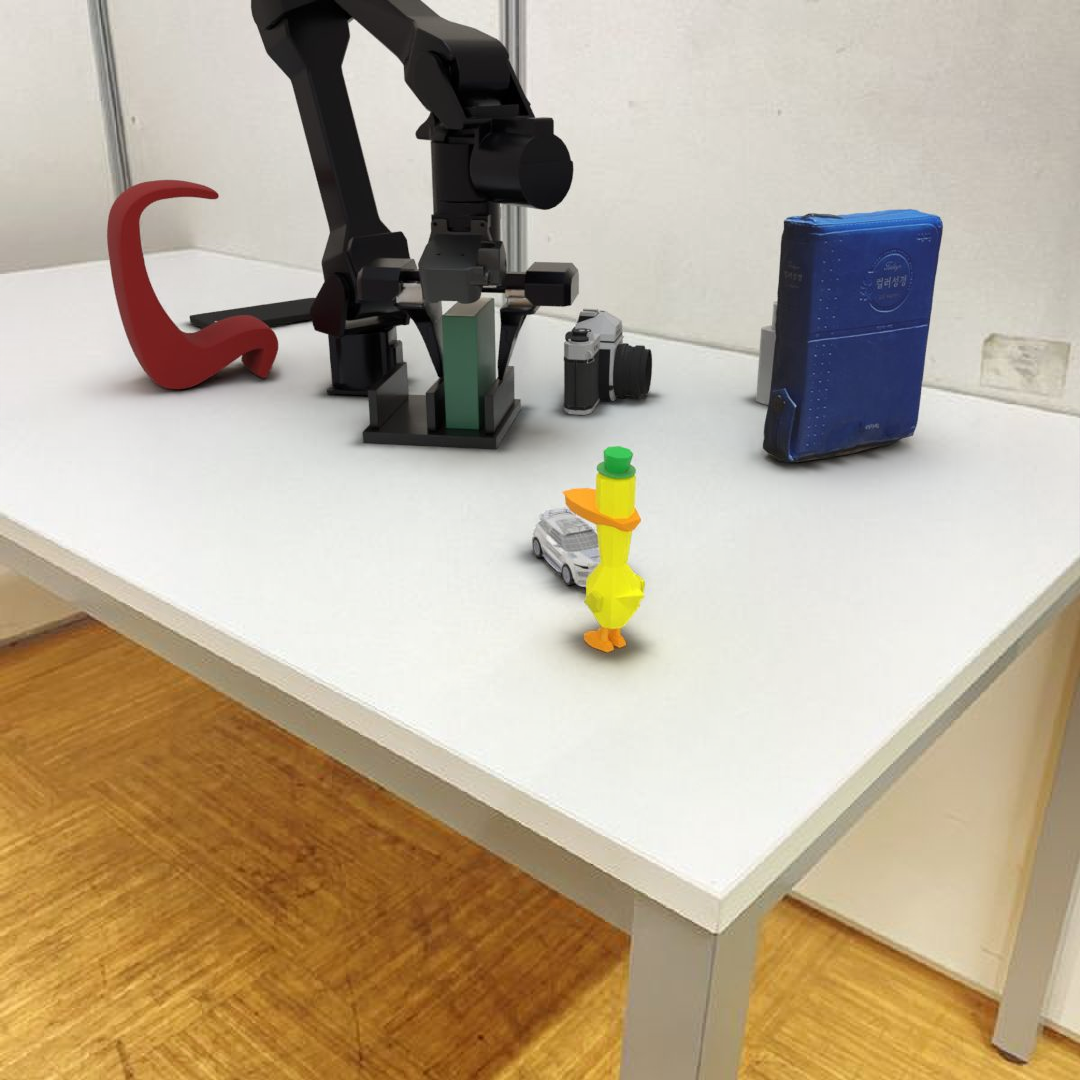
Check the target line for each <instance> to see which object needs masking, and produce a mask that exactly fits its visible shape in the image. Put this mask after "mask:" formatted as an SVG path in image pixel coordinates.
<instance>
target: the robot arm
mask: <svg viewBox="0 0 1080 1080" xmlns="http://www.w3.org/2000/svg"><path fill="white" fill-rule="evenodd" d="M250 11H251V16H252V19H253V22H254V24H255V25H256V27H257V31H258V33H259V36H260V39H261V41H262V44H263V47H264V49H265V53H266V54H267V56H268V57H269V58H270V59H271V60H272V61H273V63H275V64H276V66H277V67H278V68H279V69H280V70H281V71H282V72H283V73H284V75H285V76H286V77H287V78H288V79H289V81H290V83H291V86H292V89H293V94H294V97H295V102H296V105H297V109H298V113H299V116H300V121H301V124H302V129H303V132H304V137H305V140H306V144H307V148H308V152H309V155H310V159H311V163H312V168H313V171H314V174H315V178H316V182H317V186H318V191H319V193H320V198H321V202H322V206H323V209H324V213H325V217H326V222H327V225H328V230H329V235H328V238H327V241H326V244H325V248H324V251H323V253H322V254H323V255H322V257H321V269H322V276H323V280H324V281H323V284H322V285H321V287H320V289H319V290H318V293H317V294H316V296H315V297H314V298H315V300H314V302H313V304H312V306H311V307H310V315H311V319H310V320H311V322H312V326H313V329H314V331H316V332H318V333H322V334H325V335H327V338H328V353H329V362H330V375H331V384H329V386H328V387H326V390H325V391H326V394H329V395H352V396H368V390H369V389H370V388H371V387H372V386H373V385H374V384H375V383H376V382H377V381H379V380H380V379H381V378H382V377H383V376H384V375H385V374H386V373H387V372H388V371H389V370H391V369H392V368H393V367H394V366H395V365H396V364H397V363H398V362H404V347H403V341H402V340H401V339H398V333H397V332H398V331H397V327H400V326H409V325H410V324H411V320H412V321H413V323H414V324H415V327H416V328H417V330H418V332H419V334H420V335H421V337H422V340H423V343H424V344H425V348H426V350H427V352H428V355H429V358H430V360H431V362H432V365H433V367H434V370H435V372H436V375H437V377H438V379H439V378H443V377H444V363H443V338H442V315H443V314H444V313H443V302H460V303H461V304H470V303H474V302H476V301H478V300H479V299H480V297H482V293H484V294H485V293H486V294H505V295H504V297H505V298H506V299H507V301H506V302H505V303H504V304H503V305H502V306H501V307H500V308H499V318H500V330H499V331H500V332H499V343H498V352H497V353H498V355H497V378H498V379H499V380H503V379H504V377H505V375H506V372H507V368H508V366H510V362H511V359H512V356H513V354H514V353H513V352H514V349H515V346H516V345H517V341H518V337H519V335H520V332H521V329H522V327H523V325H524V323H525V321H526V318H527V316H531V315H535V314H536V313H537V312H538V311H539V309H540V308H541V307H556V308H557V307H559V308H564V307H565V308H566V307H570V306H572V305H573V304H574V302H575V301H576V299H577V297H578V296H579V294H580V274H579V269H578V268H577V266H575V264H574V263H573V262H559V261H557V262H555V261H554V262H552V261H534V262H533V263H532V264H531V265H529V267H528V268H527V269H526V271H508V262H507V253H506V249H505V245H504V241H503V240H502V232H501V231H502V228H501V227H502V223H501V222H502V221H501V220H502V207H501V205H506V206H514V207H520V208H528V209H536V210H541V211H547V210H551V209H554V208H555V207H557V206H558V205H560V204H561V203H562V202H563V201H564V199H565V198H566V197H567V195H568V193H569V191H570V189H571V187H572V182H573V179H574V178H573V177H574V170H575V169H574V162H573V160H572V159H571V158H572V157H571V155H570V151H569V149H568V147H567V145H566V143H565V142H564V141H563V139H562V138H560V137H559V136H558V135H556V134H555V120H554V118H553V117H549V116H547V117H546V116H542V117H541V116H540V117H539V116H538V117H536V116H535V114H534V111H533V109H532V107H531V105H532V104H531V102H530V101H529V99H528V97H527V96H526V94H525V91H524V89H523V88H522V85H521V83H520V81H519V78H518V77H517V74H516V72H515V70H514V67H513V66H512V63H511V61H510V54H509V52H508V50H507V47H506V46H505V45H504V43H502V41H501V40H499V39H498V38H496V37H494V36H492V35H489V34H488V33H485V32H483V31H481V30H479V29H478V28H475V27H472V26H469V25H466V24H463V23H462V24H461V23H457V22H454V21H451V20H448V19H446V18H445V17H442V16H440V15H439V13H437V12H435V10H433V9H432V8H431V7H429V6H428V5H427V4H426V3H425V2H424V1H422V0H250ZM354 20H355V21H356V22H357V23H358V24H359V25H360V26H362V28H363V29H365V30H366V31H367V32H368V33H369V34H370V35H371V36H372V37H374V38H375V39H376V40H377V41H378V42H379V43H380V44H382V45H383V46H384V47H385V48H386V49H387V50H388V51H389V52H391V54H393V55H394V56H395V57H396V58H397V59H398V61H399V62H400V63H401V64H402V66H403V79H404V83H405V84H406V85H407V87H408V88H409V89H410V91H411V92H412V93H413V95H414V96H415V97H416V98H417V100H418V101H419V102H420V104H421V105H422V106H423V107H424V109H425V110H426V111H428V112H430V113H429V115H428V117H427V118H426V120H424V121H423V123H421V124H420V125H419V126H418V128H416V131H415V132H414V133H415V138H416V139H417V140H422V141H430V161H431V163H430V165H431V185H432V186H431V187H432V188H431V190H432V211H433V213H432V214H430V216H431V218H430V220H431V221H430V234H429V237H428V241H427V244H426V245H425V246H424V248H423V251H422V254H421V255H420V258H419V260H418V262H416V260H415V259H414V258H412V257H411V256H410V251H409V244H408V239H407V237H406V236H405V233H404V232H402V231H398V230H397V231H391V230H390V229H389V228H388V227H387V225H386V224H385V223H384V222H383V221H382V219H381V218H380V215H379V210H378V207H377V203H376V202H377V201H376V199H375V194H374V190H373V186H372V183H371V179H370V175H369V171H368V166H367V164H366V159H365V156H364V155H365V154H364V151H363V148H362V144H361V140H360V135H359V132H358V128H357V123H356V119H355V115H354V112H353V107H352V104H351V100H350V96H349V92H348V88H347V83H346V80H345V75H344V72H343V63H344V60H345V56H346V53H347V50H348V46H349V43H350V40H351V31H350V25H349V24H350V23H351V22H353V21H354Z"/></svg>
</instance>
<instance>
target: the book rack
mask: <svg viewBox="0 0 1080 1080" xmlns="http://www.w3.org/2000/svg"><path fill="white" fill-rule="evenodd" d="M408 376H409V375H408V362H407V361H403V362H398V363H397V364H396V365H395V366H394V367H393V368H392V369H391V370H389V371H388V372H387V373H386V374H385V375H384V376H383V377H382V378H381V379H380V380H379V381H377V382H376V383H375V384H374V385H373V386H372V387H371V388H370V389H369V390H368V395H367V398H368V399H367V401H368V414H369V415H368V416H369V425H368V426H366V427H365V429H363V431H362V443H366V444H367V443H369V444H387V445H405V446H406V445H409V446H429V447H430V446H431V447H447V448H450V447H451V448H470V449H471V448H472V449H489V450H497V449H498V447H499V446H500V444H501V442H502V440H503V439H504V437H505V436H506V434H507V432H508V430H509V429H510V428H511V426H512V424H513V423H514V421H515V419H516V417H517V416H518V414H519V413H520V411H521V409H522V402H521V401H522V400H521V398H515V394H516V393H515V389H516V388H515V366H514V365H508V368H507V372H506V375H505V377H504V379H503V380H499V379H498V377H496V380H495V382H494V383H493V384H492V386H491V387H490V388H489V390H488V391H487V392H486V394H485V395H484V406H485V422H484V423H483V424H482V426H481V427H480V429H479V430H475V429H453V428H446V412H445V388H444V377H443V378H439V377H438V378H437V380H436V381H435V382H434V383H433V384H432V385H431V386H430V387H429V388H428V390H426V392H425V394H409V378H408Z"/></svg>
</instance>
